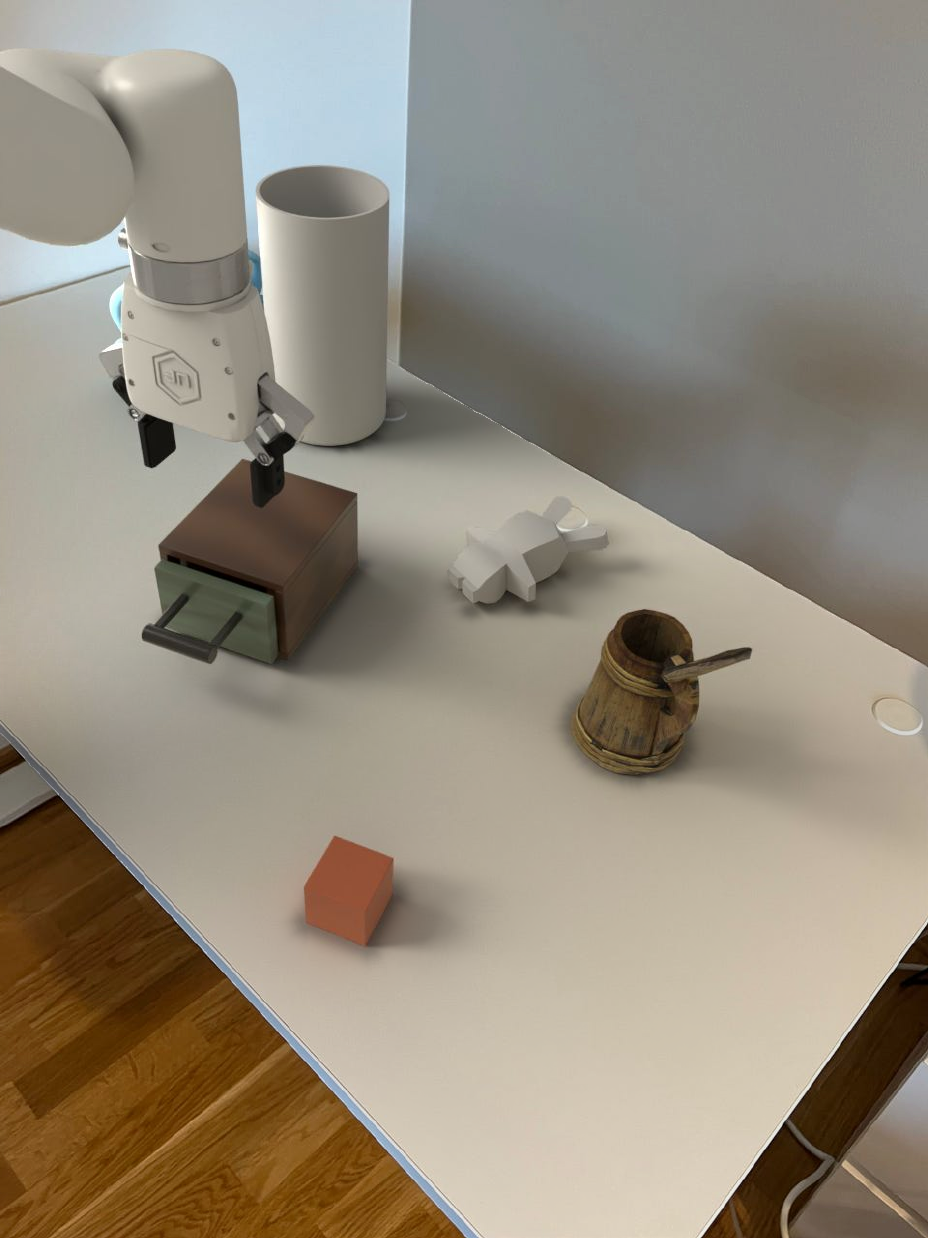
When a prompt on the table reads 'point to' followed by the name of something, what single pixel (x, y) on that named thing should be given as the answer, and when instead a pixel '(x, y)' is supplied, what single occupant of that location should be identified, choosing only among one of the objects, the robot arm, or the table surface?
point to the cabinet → (275, 544)
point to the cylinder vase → (327, 294)
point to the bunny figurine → (520, 553)
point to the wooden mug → (643, 694)
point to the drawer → (212, 613)
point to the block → (349, 890)
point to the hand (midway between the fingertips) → (213, 477)
